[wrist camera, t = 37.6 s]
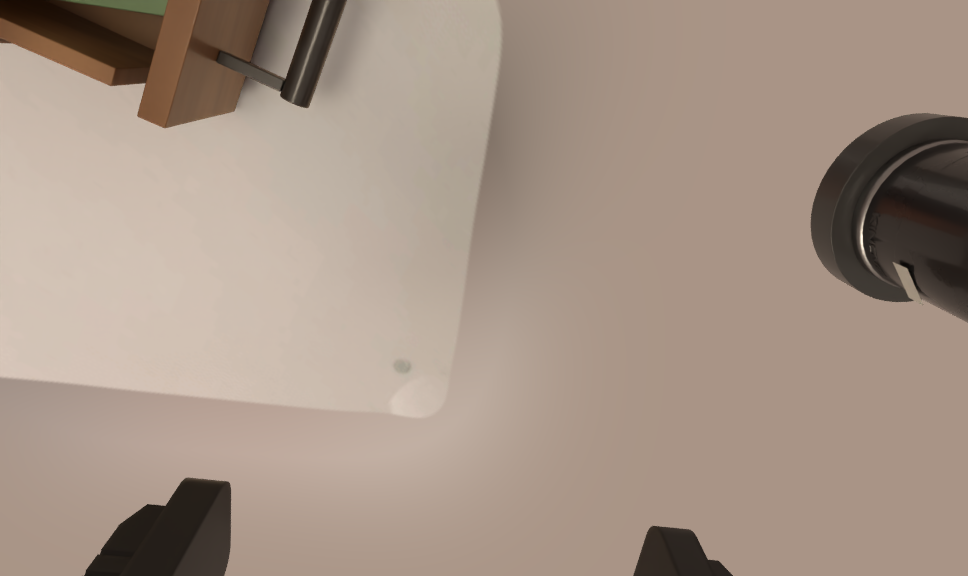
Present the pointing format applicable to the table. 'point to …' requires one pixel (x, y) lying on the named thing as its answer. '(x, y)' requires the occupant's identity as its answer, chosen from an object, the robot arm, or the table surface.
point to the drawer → (173, 50)
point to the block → (129, 5)
